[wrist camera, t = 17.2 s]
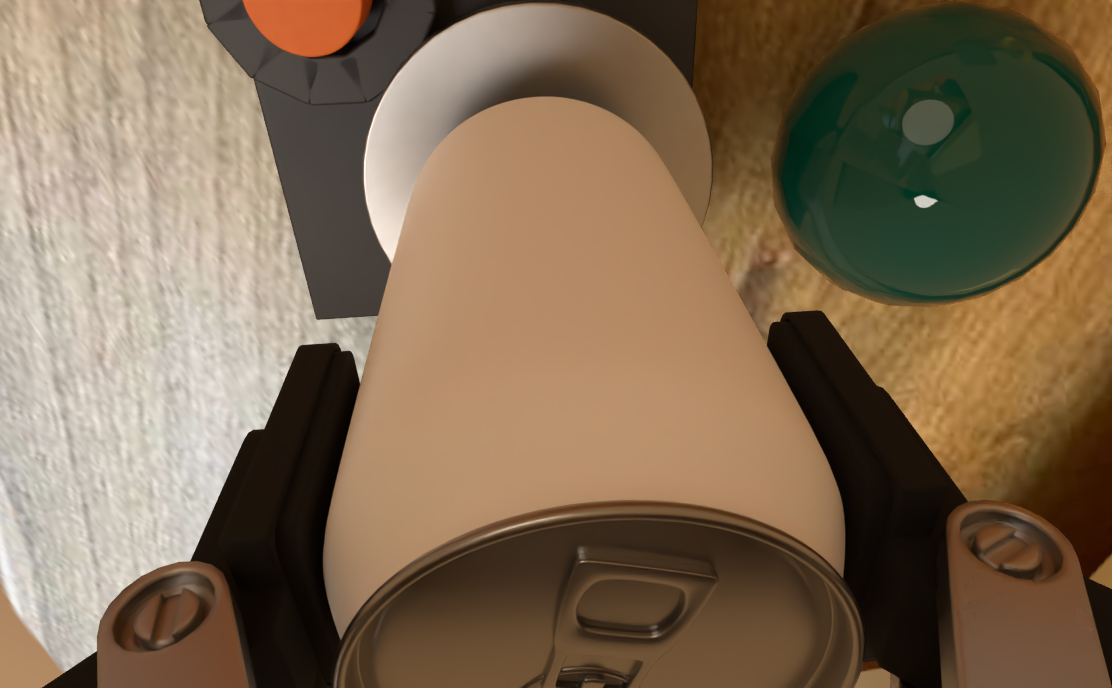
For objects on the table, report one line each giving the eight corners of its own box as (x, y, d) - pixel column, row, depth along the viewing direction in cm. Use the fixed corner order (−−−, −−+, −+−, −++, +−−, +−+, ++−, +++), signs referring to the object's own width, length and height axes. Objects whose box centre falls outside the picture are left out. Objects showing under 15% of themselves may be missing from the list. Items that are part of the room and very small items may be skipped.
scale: (320, 292, 25) (297, 348, 22) (209, -149, 18) (154, -152, 15) (667, 270, 26) (689, 321, 23) (692, -171, 19) (727, -177, 16)
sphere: (1041, 75, 23) (1266, 163, 16) (859, 271, 26) (981, 409, 20) (864, -81, 20) (1047, -55, 13) (686, 161, 23) (761, 277, 17)
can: (391, 311, 19) (268, 825, 9) (433, 56, 15) (314, 415, 5) (627, 355, 20) (756, 847, 10) (715, 128, 17) (1041, 528, 7)
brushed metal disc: (395, 338, 22) (393, 349, 22) (332, 8, 17) (327, 13, 17) (696, 318, 23) (700, 328, 22) (723, -12, 17) (729, -8, 17)
